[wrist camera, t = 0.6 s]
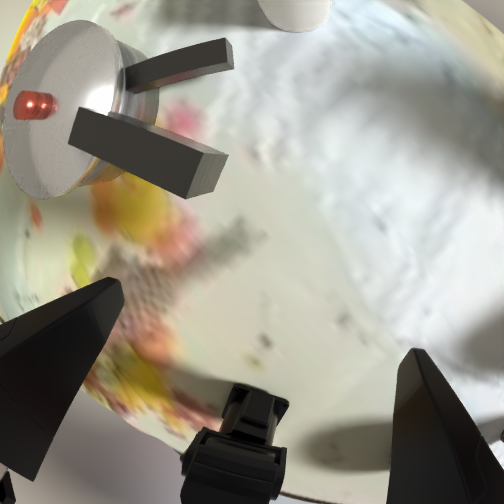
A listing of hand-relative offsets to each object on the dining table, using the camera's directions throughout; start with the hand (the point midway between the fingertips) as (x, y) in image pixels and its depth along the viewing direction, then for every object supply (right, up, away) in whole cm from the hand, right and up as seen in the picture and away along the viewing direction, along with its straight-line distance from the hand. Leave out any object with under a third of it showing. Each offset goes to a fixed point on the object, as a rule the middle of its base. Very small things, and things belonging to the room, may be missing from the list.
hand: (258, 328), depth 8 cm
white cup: (+4, +23, +10) cm, 25 cm away
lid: (-13, +13, +10) cm, 21 cm away
